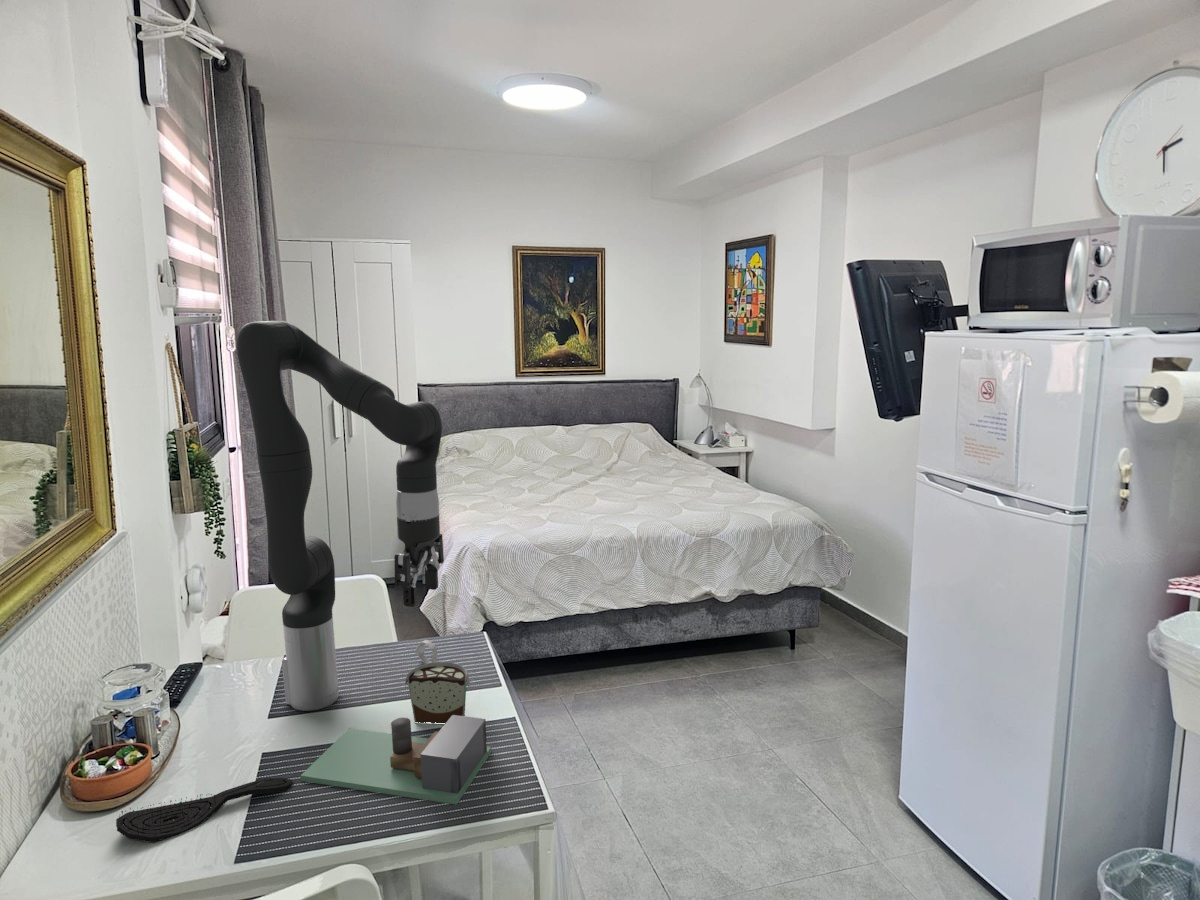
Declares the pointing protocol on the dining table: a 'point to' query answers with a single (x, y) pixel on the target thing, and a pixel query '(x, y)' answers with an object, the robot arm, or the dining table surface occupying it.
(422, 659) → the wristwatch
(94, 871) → the dining table surface
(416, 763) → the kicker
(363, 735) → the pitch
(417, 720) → the food container
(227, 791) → the hairbrush
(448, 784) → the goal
